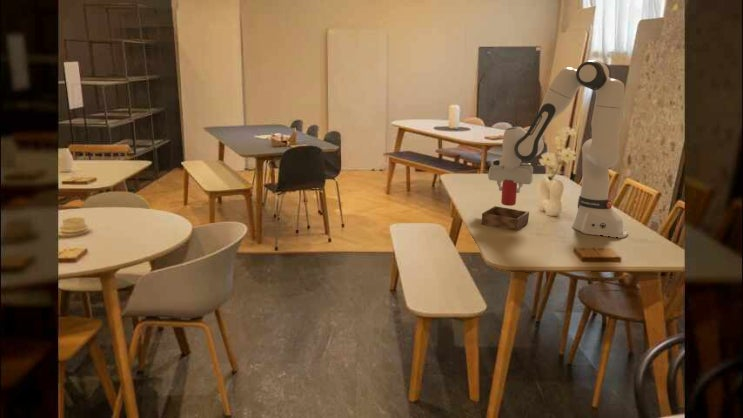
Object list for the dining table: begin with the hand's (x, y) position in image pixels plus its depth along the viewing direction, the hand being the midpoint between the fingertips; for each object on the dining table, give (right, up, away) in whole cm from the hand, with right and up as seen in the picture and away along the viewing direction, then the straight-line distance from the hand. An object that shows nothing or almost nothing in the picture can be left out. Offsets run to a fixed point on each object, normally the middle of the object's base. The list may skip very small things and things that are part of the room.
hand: (509, 191), depth 266 cm
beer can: (0, -6, +2) cm, 6 cm away
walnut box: (-5, -15, -13) cm, 20 cm away
